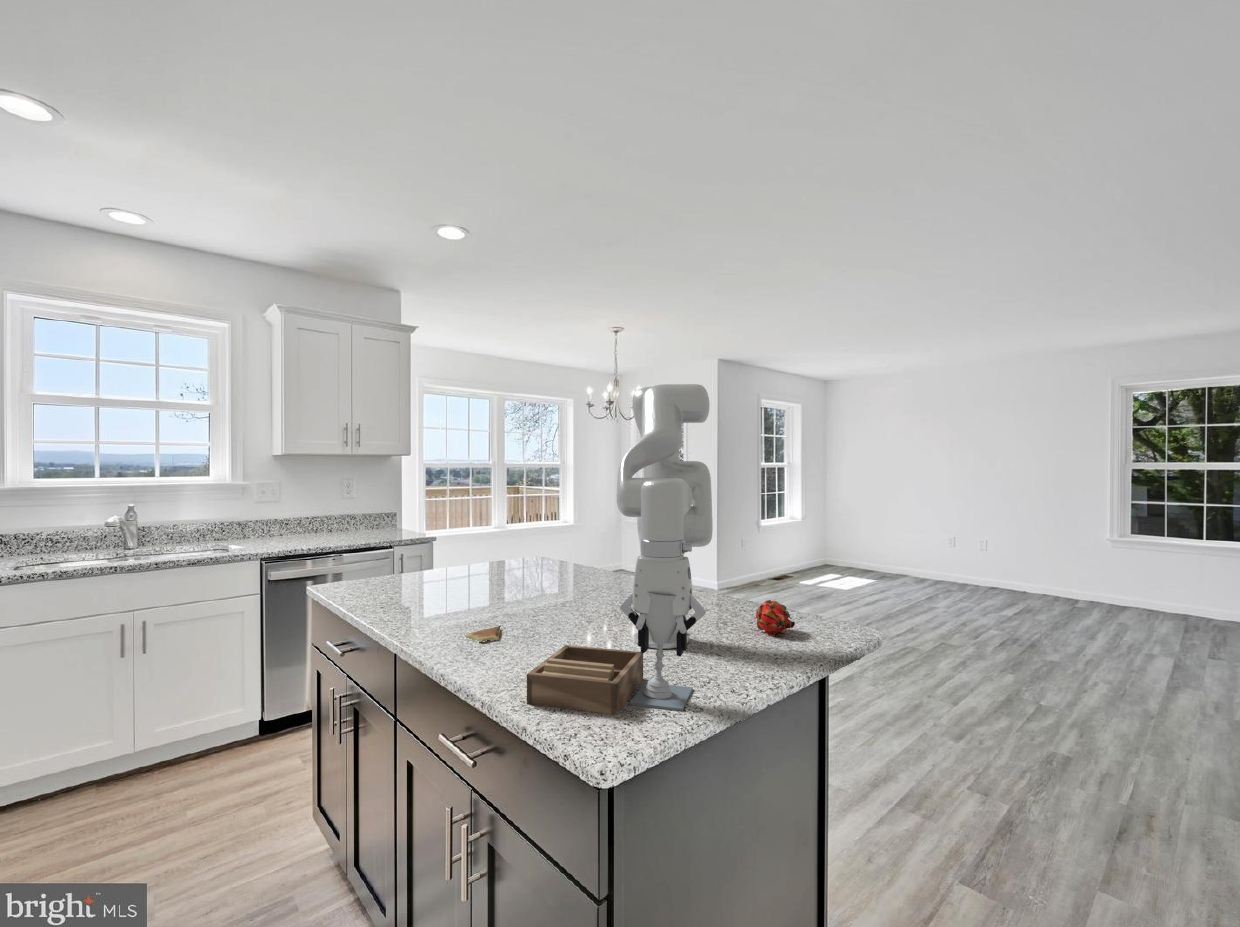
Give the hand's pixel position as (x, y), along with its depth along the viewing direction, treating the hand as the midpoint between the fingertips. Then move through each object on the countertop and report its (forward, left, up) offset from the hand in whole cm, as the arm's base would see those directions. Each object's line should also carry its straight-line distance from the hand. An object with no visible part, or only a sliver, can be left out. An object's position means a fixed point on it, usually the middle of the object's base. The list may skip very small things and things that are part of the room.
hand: (662, 651), depth 102 cm
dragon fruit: (-48, +18, -8) cm, 52 cm away
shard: (-25, -50, -9) cm, 56 cm away
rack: (+1, -13, -8) cm, 16 cm away
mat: (0, 0, -8) cm, 8 cm away
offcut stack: (+6, -13, -8) cm, 17 cm away
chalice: (0, -1, -8) cm, 8 cm away
